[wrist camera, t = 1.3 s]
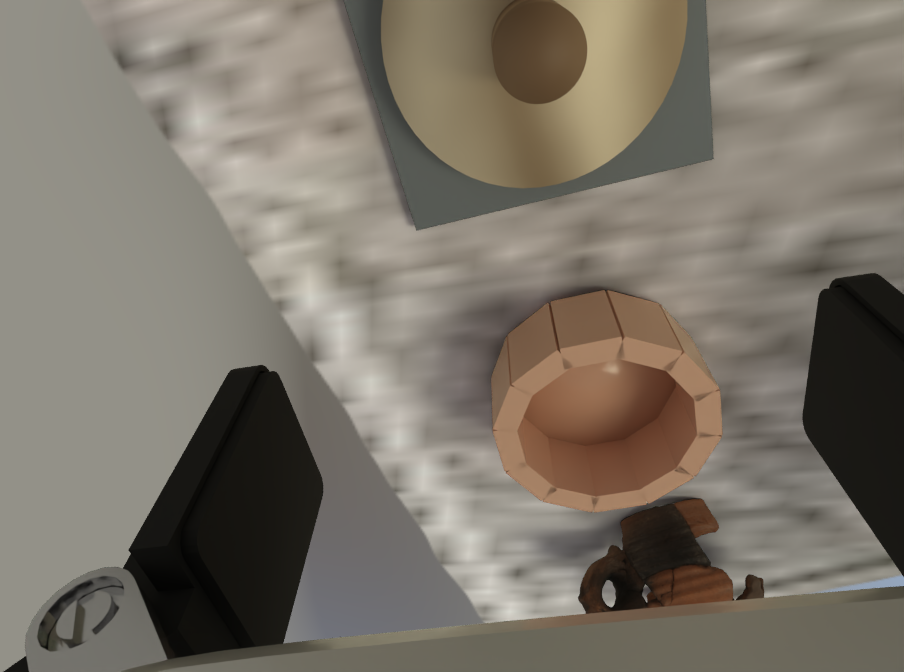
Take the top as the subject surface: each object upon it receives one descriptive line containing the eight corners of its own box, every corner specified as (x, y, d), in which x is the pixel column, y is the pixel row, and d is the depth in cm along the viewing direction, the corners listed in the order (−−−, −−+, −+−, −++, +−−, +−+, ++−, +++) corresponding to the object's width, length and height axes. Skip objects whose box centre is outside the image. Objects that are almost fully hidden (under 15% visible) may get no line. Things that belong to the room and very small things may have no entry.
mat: (688, -239, 21) (693, -244, 21) (709, 155, 28) (713, 159, 28) (312, -109, 24) (308, -110, 23) (417, 225, 31) (416, 230, 30)
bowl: (684, 267, 31) (716, 317, 27) (697, 430, 37) (725, 492, 33) (473, 312, 33) (472, 366, 29) (516, 461, 39) (520, 523, 35)
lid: (665, -196, 22) (713, -233, 17) (688, 142, 28) (728, 179, 23) (343, -87, 24) (311, -95, 19) (430, 206, 30) (421, 251, 25)
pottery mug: (748, 481, 40) (814, 617, 36) (692, 521, 48) (740, 636, 44) (571, 520, 38) (619, 669, 34) (544, 554, 46) (580, 678, 42)
